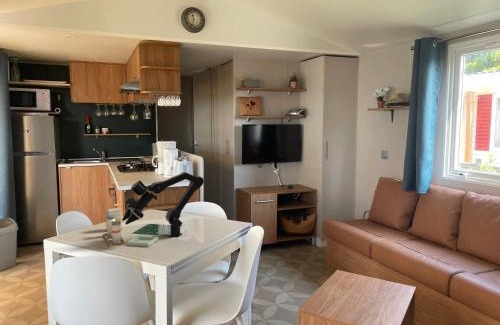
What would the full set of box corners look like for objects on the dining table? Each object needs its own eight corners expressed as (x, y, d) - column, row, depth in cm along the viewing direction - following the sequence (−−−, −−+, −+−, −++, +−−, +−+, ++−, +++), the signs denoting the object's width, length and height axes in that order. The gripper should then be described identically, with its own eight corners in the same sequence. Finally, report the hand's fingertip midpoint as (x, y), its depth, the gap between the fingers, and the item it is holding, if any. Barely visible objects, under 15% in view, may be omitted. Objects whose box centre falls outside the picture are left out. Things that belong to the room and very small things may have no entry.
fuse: (110, 234, 226) (109, 214, 225) (117, 235, 225) (117, 215, 224) (105, 237, 222) (104, 216, 221) (112, 237, 221) (112, 217, 220)
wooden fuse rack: (102, 235, 225) (102, 233, 225) (121, 233, 230) (121, 231, 230) (109, 246, 204) (109, 244, 204) (129, 243, 209) (129, 241, 209)
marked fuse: (114, 241, 212) (114, 220, 211) (122, 242, 211) (122, 221, 210) (110, 244, 208) (109, 222, 207) (117, 244, 207) (117, 223, 206)
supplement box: (118, 228, 242) (118, 207, 241) (122, 229, 239) (121, 208, 237) (106, 230, 236) (105, 209, 235) (109, 231, 233) (108, 210, 232)
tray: (138, 239, 217) (138, 235, 217) (158, 240, 215) (158, 237, 215) (127, 245, 206) (127, 241, 206) (148, 247, 203) (148, 243, 203)
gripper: (130, 189, 220) (110, 209, 216) (137, 194, 204) (115, 216, 199) (144, 201, 224) (124, 222, 220) (152, 207, 208) (131, 229, 204)
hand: (124, 222), depth 211 cm, fingers open, 9 cm apart
